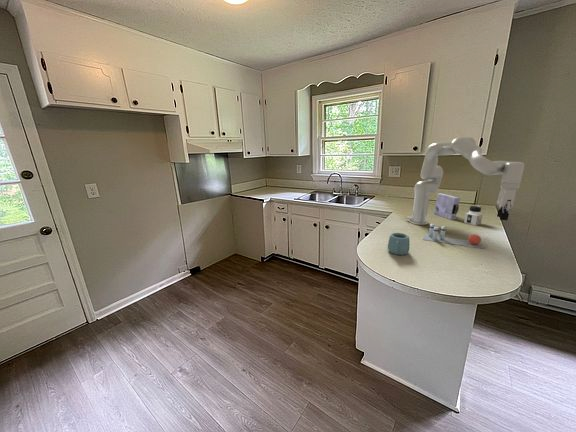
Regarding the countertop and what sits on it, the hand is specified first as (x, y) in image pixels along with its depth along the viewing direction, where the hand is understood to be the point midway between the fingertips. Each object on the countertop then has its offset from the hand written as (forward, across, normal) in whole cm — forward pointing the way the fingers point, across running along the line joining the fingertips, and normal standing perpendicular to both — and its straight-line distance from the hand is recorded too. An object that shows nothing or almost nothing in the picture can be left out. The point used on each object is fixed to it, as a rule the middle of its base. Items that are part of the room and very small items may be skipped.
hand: (502, 218), depth 133 cm
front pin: (+17, 0, -26) cm, 31 cm away
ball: (+14, 0, -10) cm, 18 cm away
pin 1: (+17, -2, -32) cm, 37 cm away
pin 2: (+17, +3, -30) cm, 35 cm away
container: (+18, -47, -5) cm, 50 cm away
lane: (+17, 0, -21) cm, 27 cm away
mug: (+18, +33, -48) cm, 61 cm away
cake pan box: (+18, -58, -22) cm, 65 cm away
